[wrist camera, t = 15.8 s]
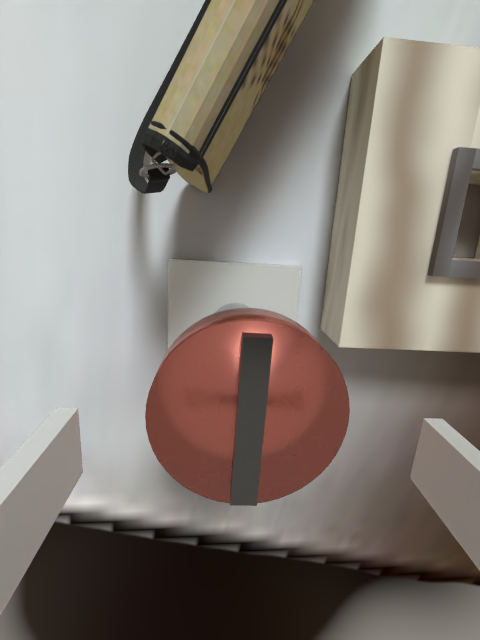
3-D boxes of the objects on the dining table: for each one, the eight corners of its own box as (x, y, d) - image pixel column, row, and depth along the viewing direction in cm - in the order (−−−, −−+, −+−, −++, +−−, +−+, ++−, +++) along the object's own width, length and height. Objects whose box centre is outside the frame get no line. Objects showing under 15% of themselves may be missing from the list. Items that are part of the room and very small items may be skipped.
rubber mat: (299, 265, 29) (302, 267, 28) (286, 383, 31) (289, 388, 30) (169, 258, 28) (168, 259, 27) (168, 379, 31) (167, 384, 30)
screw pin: (183, 272, 27) (141, 318, 13) (292, 279, 28) (370, 331, 13) (180, 374, 29) (142, 513, 15) (281, 378, 30) (338, 515, 16)
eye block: (596, 98, 27) (692, 64, 21) (526, 337, 32) (589, 359, 26) (352, 74, 25) (388, 31, 20) (320, 328, 30) (341, 349, 25)
